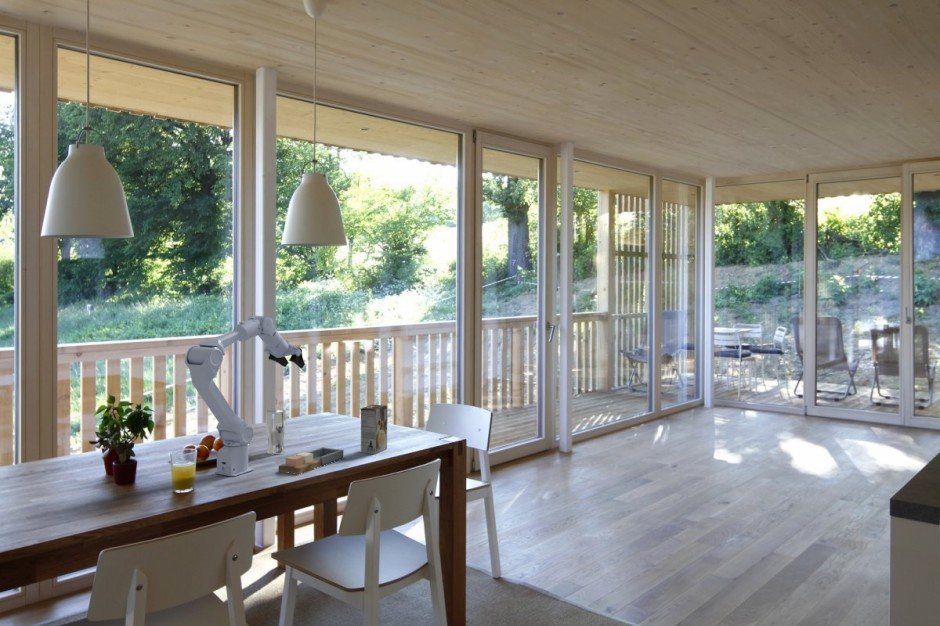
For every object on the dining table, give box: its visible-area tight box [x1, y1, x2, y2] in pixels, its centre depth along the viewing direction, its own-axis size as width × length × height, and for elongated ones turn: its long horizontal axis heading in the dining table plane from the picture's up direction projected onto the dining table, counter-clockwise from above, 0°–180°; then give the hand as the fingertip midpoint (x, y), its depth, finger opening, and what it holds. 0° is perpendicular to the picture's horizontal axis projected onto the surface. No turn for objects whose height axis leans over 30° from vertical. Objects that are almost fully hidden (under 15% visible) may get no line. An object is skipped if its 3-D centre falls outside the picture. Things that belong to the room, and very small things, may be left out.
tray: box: [306, 447, 344, 467], centre depth 251 cm, size 12×9×3 cm
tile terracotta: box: [285, 455, 304, 467], centre depth 237 cm, size 4×4×2 cm
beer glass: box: [265, 408, 287, 455], centre depth 261 cm, size 7×7×15 cm
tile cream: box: [295, 451, 313, 464], centre depth 241 cm, size 4×4×2 cm
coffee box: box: [360, 404, 388, 455], centre depth 266 cm, size 9×6×16 cm
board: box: [278, 459, 323, 475], centre depth 240 cm, size 12×8×2 cm, turn 155°
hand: (294, 365), depth 259 cm, fingers open, 7 cm apart
